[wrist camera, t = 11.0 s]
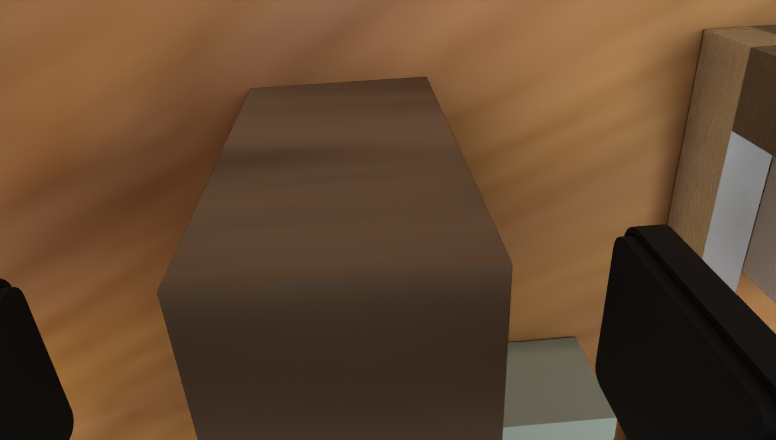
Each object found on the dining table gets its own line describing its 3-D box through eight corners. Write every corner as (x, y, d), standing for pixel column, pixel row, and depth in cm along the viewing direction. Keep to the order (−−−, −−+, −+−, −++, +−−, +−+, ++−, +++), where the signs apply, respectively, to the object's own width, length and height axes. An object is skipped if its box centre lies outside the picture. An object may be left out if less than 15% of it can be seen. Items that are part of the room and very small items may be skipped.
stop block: (429, 229, 18) (499, 497, 10) (274, 241, 18) (221, 522, 10) (426, 76, 16) (512, 263, 8) (250, 88, 16) (157, 291, 8)
